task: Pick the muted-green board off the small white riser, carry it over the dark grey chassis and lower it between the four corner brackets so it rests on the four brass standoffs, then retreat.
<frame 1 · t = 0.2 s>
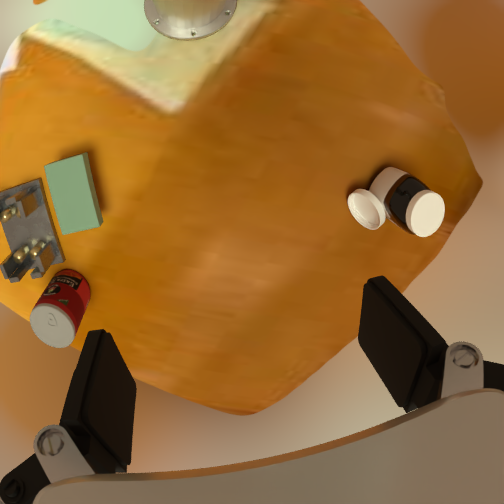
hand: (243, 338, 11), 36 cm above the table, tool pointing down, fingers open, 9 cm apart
canned food: (71, 287, 48), on the table
chassis: (28, 226, 41), on the table
spice jar: (377, 196, 50), on the table
board: (75, 192, 38), point 3 cm above the table, touching riser
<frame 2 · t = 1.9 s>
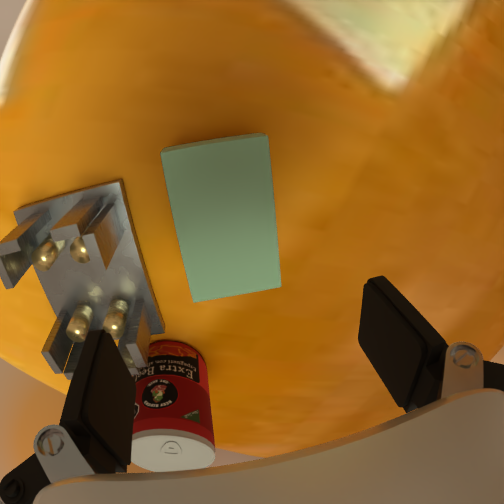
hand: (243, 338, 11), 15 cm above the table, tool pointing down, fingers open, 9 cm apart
canned food: (170, 364, 31), on the table
chassis: (90, 270, 24), on the table
board: (223, 214, 20), point 3 cm above the table, touching riser
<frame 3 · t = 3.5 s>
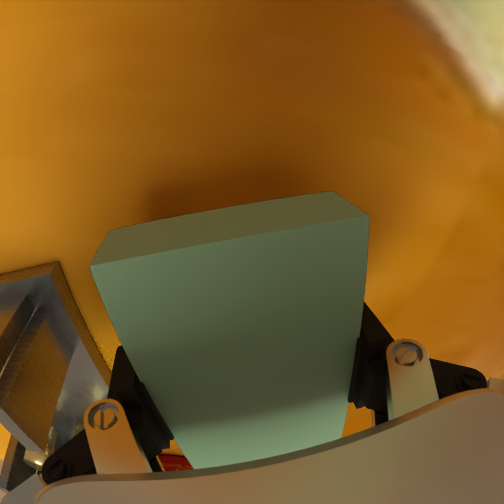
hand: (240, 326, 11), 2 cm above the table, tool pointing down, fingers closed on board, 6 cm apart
canned food: (167, 471, 20), on the table
chassis: (41, 382, 14), on the table
board: (246, 351, 10), point 4 cm above the table, touching gripper, riser
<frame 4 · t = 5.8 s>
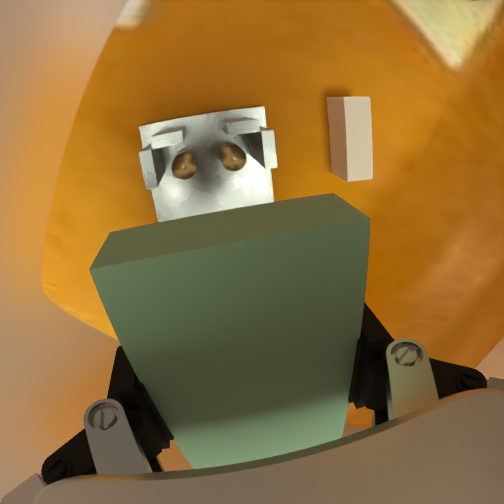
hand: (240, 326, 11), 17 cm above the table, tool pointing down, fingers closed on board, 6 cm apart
chassis: (213, 194, 27), on the table
board: (246, 353, 10), point 19 cm above the table, touching gripper
riser: (341, 134, 26), on the table
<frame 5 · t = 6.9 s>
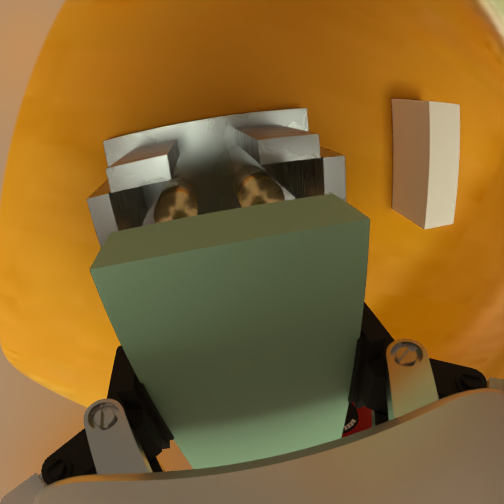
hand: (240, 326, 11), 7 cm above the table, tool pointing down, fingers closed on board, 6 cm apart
canned food: (297, 373, 24), on the table
chassis: (223, 244, 18), on the table
board: (246, 353, 10), point 9 cm above the table, touching gripper
riser: (408, 154, 17), on the table
when the fingers open (4 cm above the table, at t = 8.0 s): board drops 1 cm, resting on chassis.
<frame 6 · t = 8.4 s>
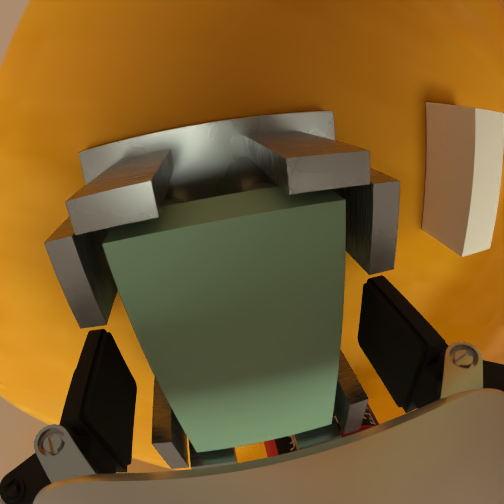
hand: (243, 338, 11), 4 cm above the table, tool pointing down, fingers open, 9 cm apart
canned food: (308, 405, 21), on the table
chassis: (228, 275, 15), on the table
board: (241, 329, 11), point 4 cm above the table, touching chassis
riser: (441, 166, 14), on the table
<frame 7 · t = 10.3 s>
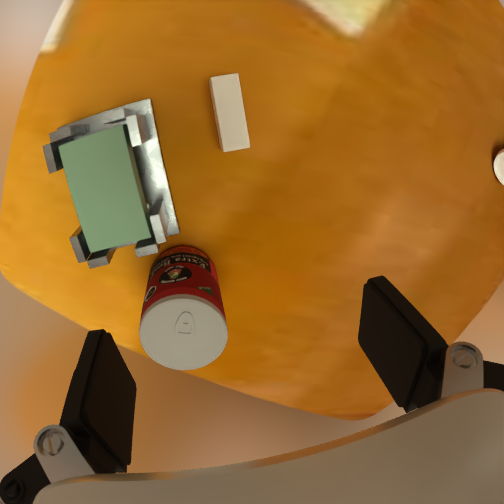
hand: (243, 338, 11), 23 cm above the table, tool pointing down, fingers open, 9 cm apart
canned food: (183, 275, 35), on the table
chassis: (118, 178, 29), on the table
board: (108, 186, 26), point 4 cm above the table, touching chassis
riser: (226, 112, 29), on the table
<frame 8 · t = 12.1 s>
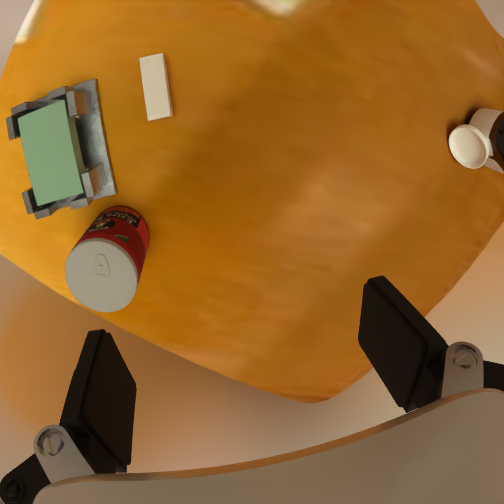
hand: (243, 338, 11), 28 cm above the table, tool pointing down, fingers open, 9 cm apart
canned food: (121, 234, 37), on the table
chassis: (68, 146, 31), on the table
spice jar: (469, 139, 40), on the table
board: (55, 151, 27), point 4 cm above the table, touching chassis
riser: (158, 88, 30), on the table
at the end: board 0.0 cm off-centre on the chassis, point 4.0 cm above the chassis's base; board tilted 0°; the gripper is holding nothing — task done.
